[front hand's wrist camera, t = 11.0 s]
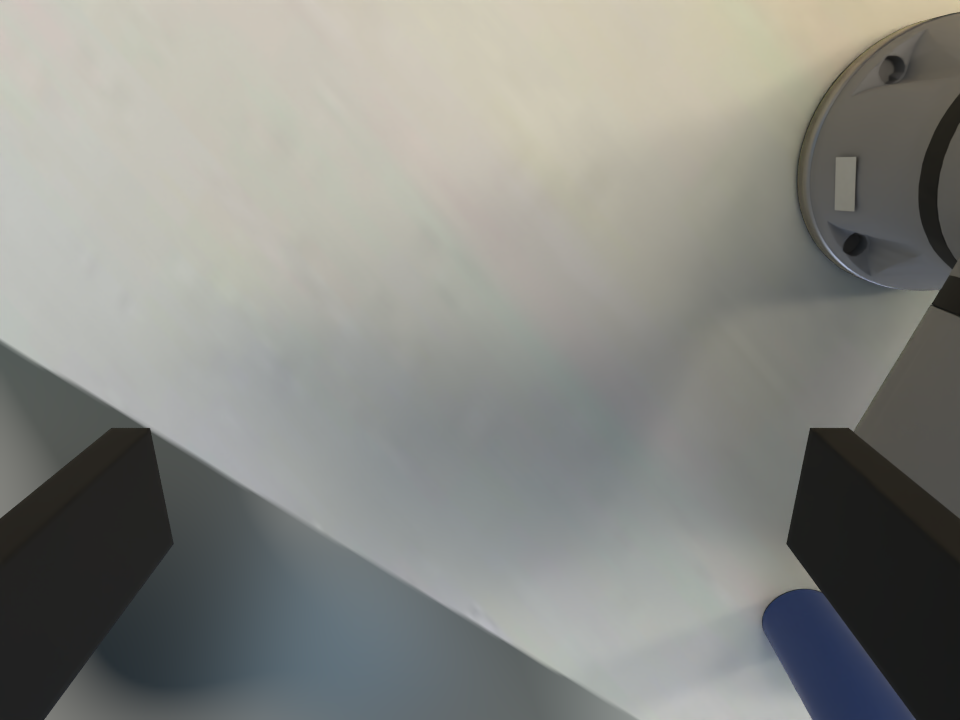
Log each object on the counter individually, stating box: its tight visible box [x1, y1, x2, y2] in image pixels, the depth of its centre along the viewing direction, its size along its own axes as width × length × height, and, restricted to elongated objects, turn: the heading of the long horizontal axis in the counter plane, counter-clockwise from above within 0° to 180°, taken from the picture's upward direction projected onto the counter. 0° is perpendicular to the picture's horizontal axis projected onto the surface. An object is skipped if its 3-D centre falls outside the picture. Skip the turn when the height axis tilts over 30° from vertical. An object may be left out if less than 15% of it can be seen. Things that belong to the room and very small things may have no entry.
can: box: [762, 589, 916, 720], centre depth 44 cm, size 6×6×13 cm
